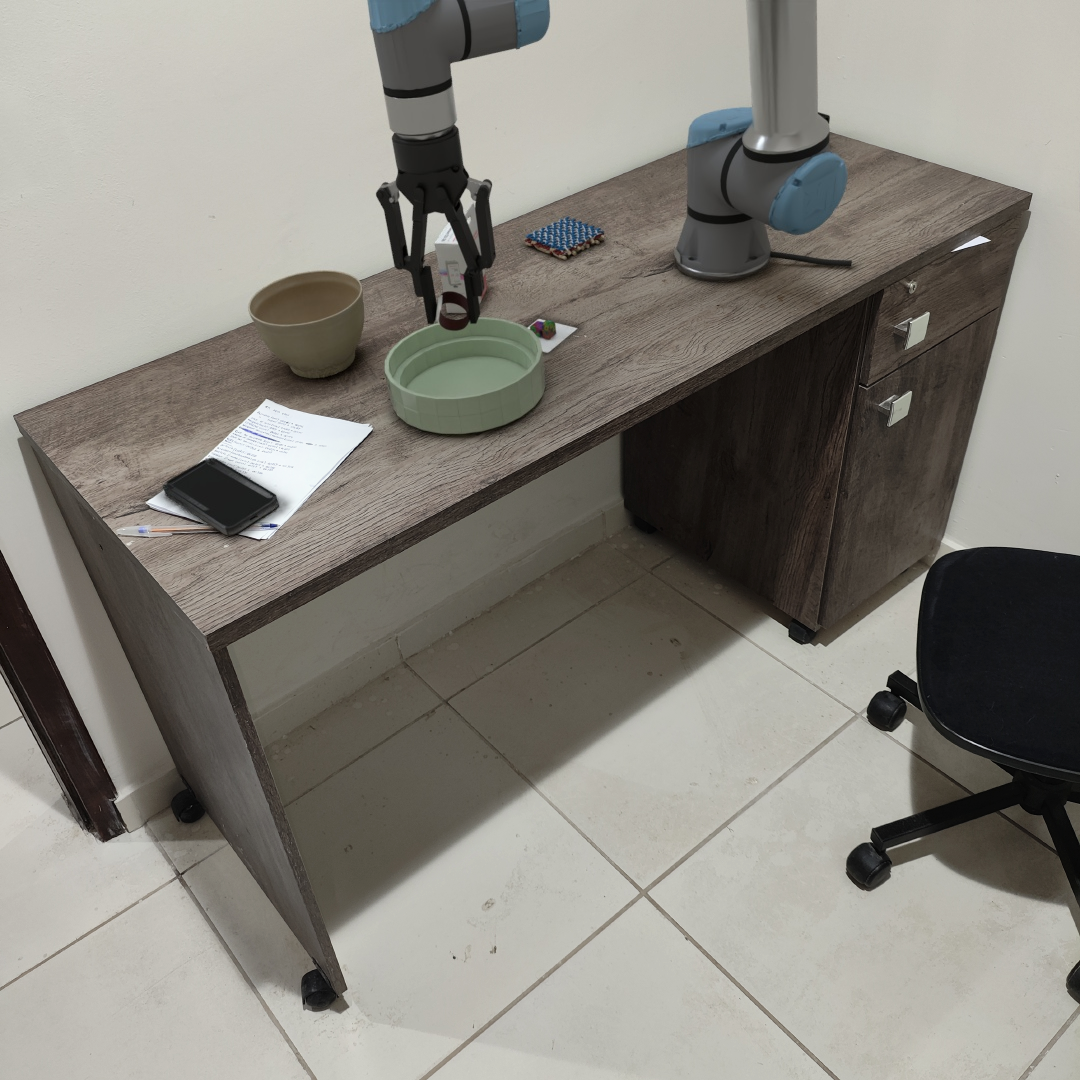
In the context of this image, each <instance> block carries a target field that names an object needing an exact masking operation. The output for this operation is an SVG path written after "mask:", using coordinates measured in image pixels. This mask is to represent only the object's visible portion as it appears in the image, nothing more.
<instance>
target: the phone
mask: <svg viewBox="0 0 1080 1080" xmlns="http://www.w3.org/2000/svg"><path fill="white" fill-rule="evenodd" d="M162 489H163V491H164V493H165V494H164V495H165V496H166V497H168V498H169V499H171V500H172V501H174V502H175V503H177V505H180V506H181V507H183V508H184V509H186V510H187V511H189V512H190V513H192V514H193V515H195V516H196V517H197V518H199V519H201V520H202V521H204V522H205V523H207V524H208V525H209V526H211V527H212V528H214V529H215V530H217V531H219V532H220V533H221V534H223V535H225V536H229V537H230V536H235V535H237V534H239V533H240V532H242V531H243V530H245V529H247V528H248V527H250V526H251V525H253V524H254V523H256V522H257V521H259V520H261V519H263V518H264V517H265V516H267V515H268V514H270V513H272V512H273V511H275V510H276V509H278V507H279V505H280V504H279V499H278V497H277V494H276V493H275V492H272V491H271V490H269V489H268V488H266V487H264V486H263V485H262V484H259V483H257V482H256V481H254V480H252V479H251V478H249V477H247V476H246V475H244V474H242V473H240V472H239V471H237V470H236V469H234V468H233V467H231V466H229V465H228V464H226V463H225V462H222V461H221V460H220V459H217V458H215V457H208V458H205V459H203V460H202V461H200V462H198V463H196V464H194V465H193V466H191V467H190V468H189V467H188V468H187V469H186V470H184V471H182V472H180V473H179V474H177V475H176V476H174V477H172V478H169V480H167V481H164V483H163V484H162Z"/></svg>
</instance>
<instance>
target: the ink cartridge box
mask: <svg viewBox="0 0 1080 1080" xmlns="http://www.w3.org/2000/svg"><path fill="white" fill-rule="evenodd" d="M464 215H465V217H466V220H467V222H468V225H469V228H470V230H471V233H472V235H473V238H474V240H475V243H476V246H477V248H478V251H479V253H480V255H481V250H480V243H479V235H478V228H477V220H476V213H475V203H474V202H471V203H470V205H469V206H468V208H467V209H466V211H465V212H464ZM469 218H470V220H468V219H469ZM433 246H434V249H435V254H436V260H437V265H438V271H439V276H440V282H441V287H442V293H444V292H447V291H453V292H457V293H459V294H461V295H463V296H465V297H466V290H465V284H464V277H463V275H464V273H465V270H466V268H467V265H466V262H465V260H464V257H463V255H462V252H461V250H460V247H459V245H458V242H457V240H456V237H455V235H454V232H453V230H452V227H451V225H450V223H449V222H448V221H447V223H446V225H445V226H444V228H443V230H442V231H441V233H440V234H439V235H438V236H437V238H436V240H435V242H434V243H433ZM482 271H483V278H484V286H485V288H484V291H483V294H482V296H478V299H479V305H480V304H481V302H482V301H483V298H484V297H485V295H486V292H487V291H488V282H487V274H486V268H485V269H483V270H482ZM466 298H467V297H466ZM445 309H446V313H447V314H467V312H466V311H465V309H463V308H462V307H461V306H459V305H456V304H453V303H445Z"/></svg>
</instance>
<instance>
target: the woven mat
mask: <svg viewBox="0 0 1080 1080" xmlns="http://www.w3.org/2000/svg"><path fill="white" fill-rule="evenodd" d="M576 220H577V219H576V218H570V216H566V217H565V218H559V219H558V220H557V222H555V221H552V223H551V224H547V225H546V226H543V227H539V229H538V230H533V232H531V233H528V234H527V235H526V236H525V238H526V239H524V243H525V245H526V246H529V247H534V248H535V249H536V250H538V251H539V252H542V253H546V254H551V255H553V256H555V257H556V258H558V259H561V260H563V261H566V260H567V259H568V258H567V256H570V255H572V256H577V252H580V251H584V250H585V249H590V245H594V244H595V245H596V246H597V245H599V244H600V243H601V242H600V241H603V240H604V239H605V231H604V230H602V228H601V227H595V226H596V225H589V223H587V222H586V223H583V221H582V220H579V221H576Z"/></svg>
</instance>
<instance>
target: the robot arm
mask: <svg viewBox="0 0 1080 1080" xmlns="http://www.w3.org/2000/svg"><path fill="white" fill-rule="evenodd" d="M745 6H746V8H745V9H746V25H747V26H746V27H747V43H748V45H747V47H748V62H749V79H750V98H751V106H746V107H745V106H742V107H741V106H739V107H729V108H723V109H718V110H713V111H710V112H707V113H703V114H701V115H700V116H697V117H696V118H694V119H693V120H692V121H691V123H690V125H689V127H688V132H687V144H686V153H687V154H686V217H685V220H684V223H683V226H682V229H681V232H680V234H679V238H678V241H677V244H676V247H675V246H674V247H673V254H674V257H675V258H674V260H675V261H674V263H675V266H676V268H677V269H678V270H679V271H680V272H681V273H683V274H684V275H686V276H688V277H691V278H694V279H697V280H700V281H701V280H702V281H709V282H734V281H739V280H744V279H748V278H751V277H754V276H756V275H759V274H760V273H762V272H764V271H765V270H766V269H767V268H768V267H770V264H771V261H772V260H771V259H773V258H774V259H780V260H788V261H795V262H800V263H806V264H811V265H818V266H829V267H851V268H852V265H853V264H852V263H853V260H852V259H850V260H849V259H827V258H821V257H813V256H807V255H801V254H795V253H787V252H780V251H773V250H772V246H771V242H770V238H769V235H768V231H767V227H766V225H767V226H769V227H770V228H772V229H773V230H775V231H778V232H784V233H787V234H789V235H793V236H801V235H806V234H808V233H811V232H813V231H815V230H817V229H818V228H819V227H821V226H822V225H824V223H825V222H826V221H828V220H829V219H830V217H831V216H832V215H833V213H834V212H835V210H836V209H837V208H838V207H839V205H840V203H841V201H842V200H843V197H844V195H845V192H846V188H847V184H848V177H849V176H848V175H849V173H848V167H847V165H846V161H844V159H842V157H840V155H839V154H838V153H837V152H836V153H834V152H832V151H831V146H830V145H831V144H830V143H831V142H830V141H831V139H830V137H831V135H830V132H831V128H830V122H829V123H828V122H827V121H826V120H825V119H824V118H823V117H821V116H820V115H819V114H818V112H819V106H818V105H819V103H818V101H819V97H818V93H819V91H818V90H819V87H818V85H819V84H818V0H745ZM367 8H368V16H369V26H370V27H369V28H370V30H371V34H372V38H373V42H374V43H373V44H374V47H375V52H376V58H377V63H378V67H379V68H378V69H379V72H380V78H381V83H382V90H383V96H384V102H385V108H386V115H387V120H388V121H387V122H388V126H389V130H390V131H392V133H393V134H392V136H391V142H392V143H391V144H392V149H393V153H394V160H395V164H396V169H397V175H396V178H395V180H393V181H391V182H388V181H385V182H382V184H380V186H379V187H378V189H377V190H376V192H375V197H376V199H377V201H378V202H379V204H380V206H381V208H382V210H383V215H384V218H385V224H386V229H387V234H388V240H389V246H390V249H391V255H392V261H393V266H394V268H395V269H396V270H398V271H401V270H405V271H408V273H410V275H411V278H412V285H413V290H414V294H415V296H416V298H422V299H423V305H424V312H425V315H426V323H427V325H432V324H435V323H436V308H437V297H436V291H435V290H436V289H435V285H434V279H433V278H434V277H433V272H432V268H431V265H424V264H425V262H426V259H425V253H426V241H427V228H428V217H429V216H428V215H429V214H434V213H438V214H443V215H444V216H445V219H446V221H447V223H448V222H449V223H450V225H451V227H452V230H453V232H454V235H455V237H456V240H457V242H458V245H459V247H460V250H461V252H462V255H463V257H464V260H465V262H466V265H467V268H466V270H465V273H464V275H463V277H464V284H465V290H466V297H467V304H468V311H469V318H470V324H476V323H477V321H478V318H479V317H481V316H480V315H481V307H480V304H479V299H478V296H482V294H483V291H484V288H485V286H484V278H483V271H482V270H483V269H485V270H486V269H491V268H492V267H493V265H494V262H495V260H496V257H497V253H496V247H495V246H496V244H495V237H494V230H493V228H494V227H493V220H492V212H491V204H490V197H491V192H492V188H493V182H492V181H491V180H490V179H489V178H488V179H487V178H485V179H483V180H478V179H476V178H473V177H470V174H469V172H468V171H467V169H466V168H465V165H464V158H463V151H462V145H461V137H460V130H459V129H460V128H458V126H457V125H456V123H457V121H458V115H457V108H456V100H455V99H456V98H455V93H454V92H455V91H454V84H453V76H452V67H451V66H452V65H451V64H453V63H454V64H455V63H460V62H463V61H467V60H471V59H477V58H480V57H485V56H488V55H493V54H497V53H502V52H508V51H510V50H511V51H512V50H520V49H521V48H523V47H526V46H528V45H532V44H535V43H538V42H540V41H541V40H542V39H543V38H544V37H545V36H546V34H547V32H548V30H549V27H550V22H551V6H550V0H367ZM466 190H468V191H469V192H470V198H471V200H472V201H475V203H474V206H475V213H476V220H477V228H478V235H479V243H480V250H481V255H480V253H479V251H478V248H477V246H476V243H475V240H474V238H473V235H472V233H471V230H470V228H469V225H468V222H467V221H468V219H467V220H466V217H465V215H464V214H465V212H464V206H463V204H462V201H461V198H462V196H463V194H464V193H465V191H466ZM400 193H401V194H402V196H404V198H406V200H407V201H408V202H409V203H410V204H411V205H412V214H411V215H412V216H411V221H412V230H411V242H410V255H409V250H408V249H409V248H408V244H407V238H406V233H405V228H404V222H403V216H402V211H401V205H400V200H399V199H400V197H401V194H400Z"/></svg>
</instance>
